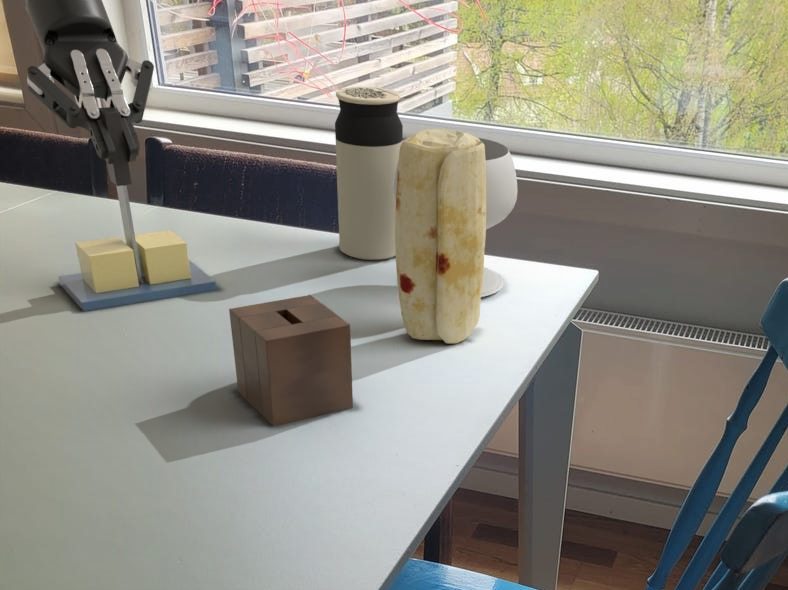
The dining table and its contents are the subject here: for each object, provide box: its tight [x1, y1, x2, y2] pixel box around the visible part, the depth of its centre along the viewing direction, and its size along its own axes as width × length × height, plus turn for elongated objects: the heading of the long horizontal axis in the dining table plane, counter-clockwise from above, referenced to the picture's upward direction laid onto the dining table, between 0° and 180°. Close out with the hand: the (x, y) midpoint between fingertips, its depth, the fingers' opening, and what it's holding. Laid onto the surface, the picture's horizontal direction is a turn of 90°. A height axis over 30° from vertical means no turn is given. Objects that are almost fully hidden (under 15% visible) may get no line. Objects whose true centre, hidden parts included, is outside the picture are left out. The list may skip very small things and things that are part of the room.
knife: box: [98, 106, 142, 280], centre depth 107 cm, size 2×3×17 cm, turn 33°
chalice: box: [394, 137, 519, 298], centre depth 114 cm, size 14×14×15 cm
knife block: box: [228, 294, 354, 427], centre depth 90 cm, size 8×8×8 cm
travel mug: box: [334, 86, 404, 261], centre depth 121 cm, size 8×8×18 cm
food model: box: [395, 128, 487, 345], centre depth 100 cm, size 10×7×20 cm
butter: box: [58, 229, 217, 312], centre depth 112 cm, size 15×9×5 cm, turn 123°
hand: (122, 157), depth 103 cm, fingers closed on knife, 1 cm apart
